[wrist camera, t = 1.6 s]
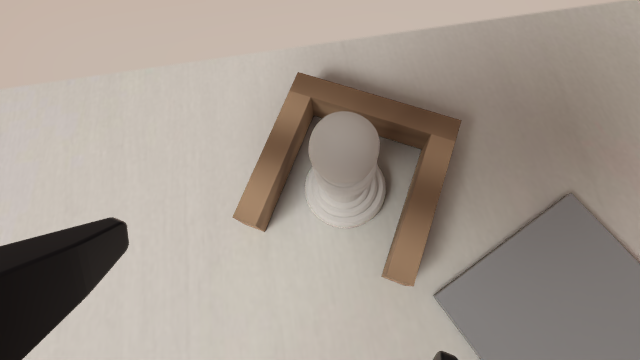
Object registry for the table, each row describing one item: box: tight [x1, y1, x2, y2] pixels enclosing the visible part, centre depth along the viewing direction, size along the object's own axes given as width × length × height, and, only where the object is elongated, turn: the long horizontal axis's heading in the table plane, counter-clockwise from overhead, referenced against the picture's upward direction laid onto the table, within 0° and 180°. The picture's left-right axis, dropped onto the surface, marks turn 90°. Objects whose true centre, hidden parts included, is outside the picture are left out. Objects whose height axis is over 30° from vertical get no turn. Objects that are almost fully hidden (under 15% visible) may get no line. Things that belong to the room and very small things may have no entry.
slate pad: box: [434, 193, 640, 360], centre depth 19 cm, size 11×11×1 cm
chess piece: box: [305, 111, 386, 228], centre depth 18 cm, size 5×5×9 cm
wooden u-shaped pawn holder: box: [233, 72, 461, 286], centre depth 21 cm, size 10×11×2 cm
